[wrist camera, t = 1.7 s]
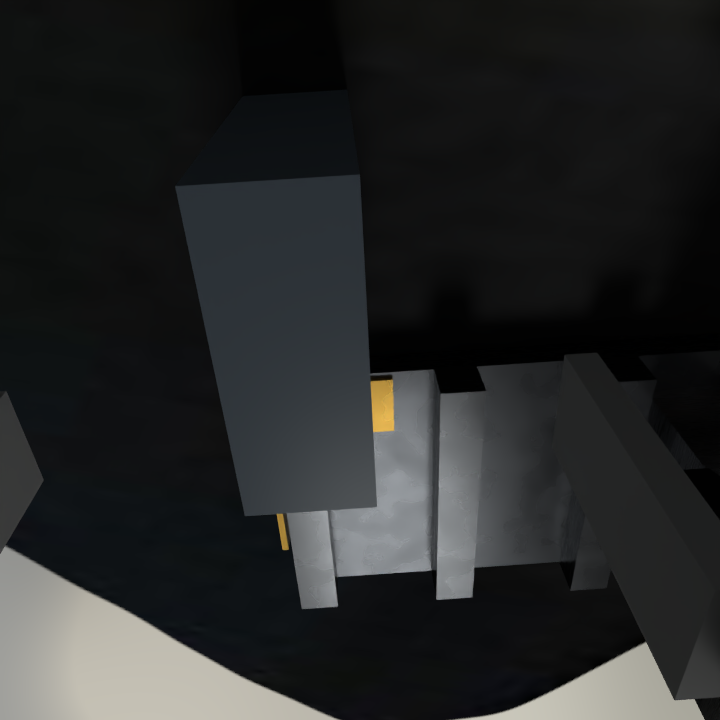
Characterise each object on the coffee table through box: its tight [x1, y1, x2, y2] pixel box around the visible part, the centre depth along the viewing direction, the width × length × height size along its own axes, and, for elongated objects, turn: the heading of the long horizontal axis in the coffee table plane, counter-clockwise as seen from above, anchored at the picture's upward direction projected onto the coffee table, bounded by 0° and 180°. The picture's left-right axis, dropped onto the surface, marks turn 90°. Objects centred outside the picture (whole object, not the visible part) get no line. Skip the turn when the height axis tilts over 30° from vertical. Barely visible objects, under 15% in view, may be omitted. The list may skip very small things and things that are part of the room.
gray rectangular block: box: [175, 90, 377, 516], centre depth 21 cm, size 10×4×12 cm, turn 3°
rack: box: [277, 334, 720, 720], centre depth 28 cm, size 14×25×14 cm, turn 93°
